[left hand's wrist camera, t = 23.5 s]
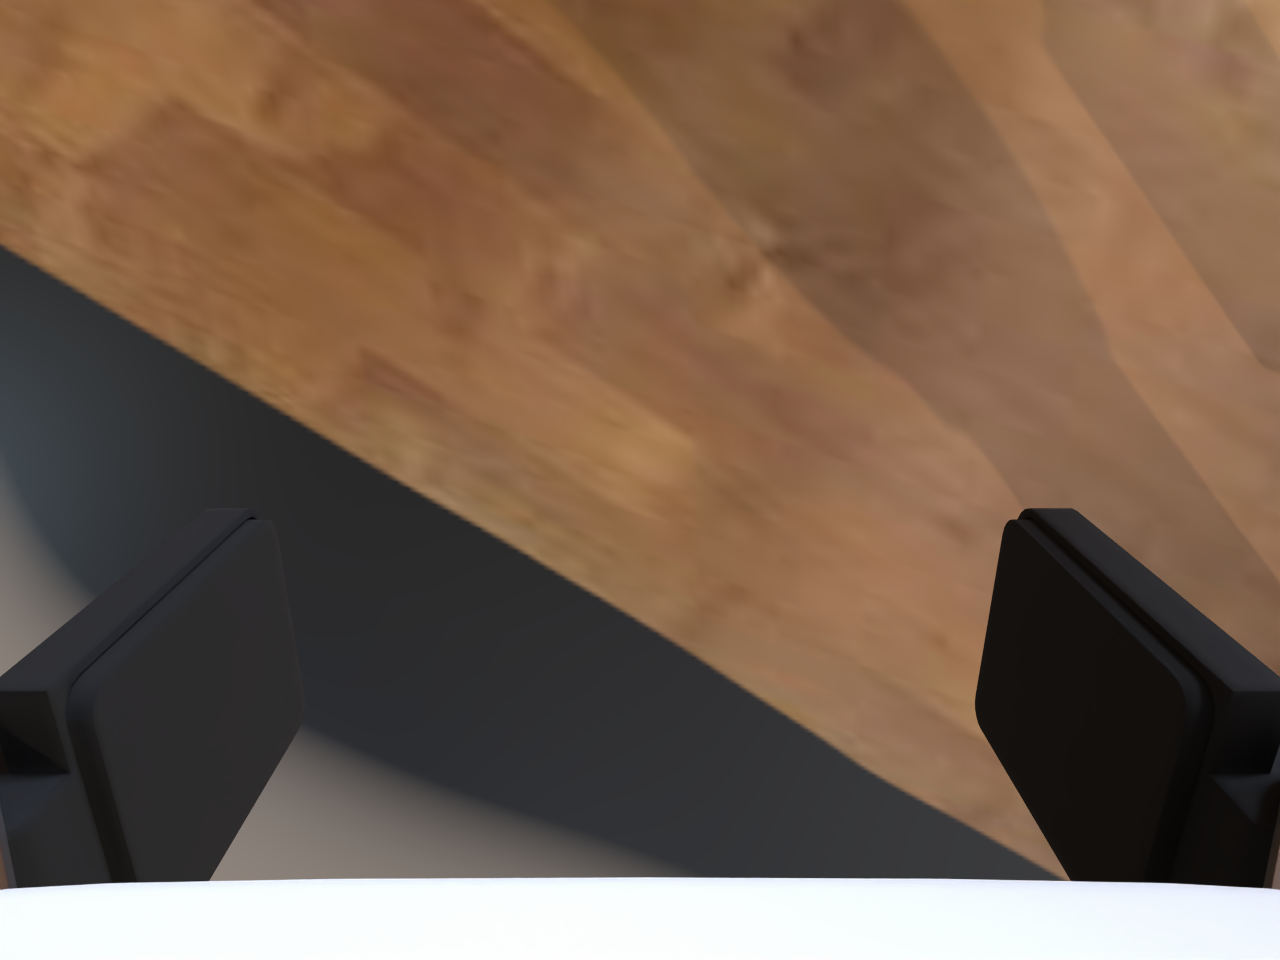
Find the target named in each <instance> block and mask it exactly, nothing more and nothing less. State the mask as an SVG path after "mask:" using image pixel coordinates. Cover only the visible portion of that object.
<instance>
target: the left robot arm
mask: <svg viewBox="0 0 1280 960" xmlns="http://www.w3.org/2000/svg"><path fill="white" fill-rule="evenodd" d="M304 710H305V698H304V691H303V685H302V679H301V673H300V667H299V661H298V655H297V649H296V643H295V637H294V631H293V625H292V619H291V613H290V607H289V601H288V595H287V589H286V583H285V577H284V571H283V565H282V559H281V553H280V548H279V541H278V535H277V531H276V528H275V525H274V523H273V522H272V521H271V520H263V519H262V517H261V516H260V514H259V512H257V511H256V510H255V509H250V508H217V509H216V508H209V509H206V510H204V511H203V512H201V513H200V514H199V515H198V516H196V517H195V518H194V519H193V520H191V521H190V522H189V523H188V524H187V525H185V526H184V527H183V528H182V529H180V530H179V531H178V532H177V533H176V534H174V535H173V536H172V537H171V538H169V539H168V540H167V541H166V542H165V543H163V544H162V545H161V546H160V547H159V548H157V549H156V550H155V551H154V552H152V553H151V554H150V555H149V556H148V557H146V558H145V559H144V560H143V561H141V562H140V563H139V564H138V565H137V566H135V567H134V568H133V569H132V570H130V571H129V572H128V573H127V574H125V575H124V576H123V577H122V578H121V579H119V580H118V581H117V582H116V583H114V584H113V585H112V586H111V587H110V588H108V589H107V590H106V591H105V592H103V593H102V594H101V595H100V596H99V597H97V598H96V599H95V600H94V601H92V602H91V603H90V604H89V605H88V606H86V607H85V608H84V609H83V610H81V611H80V612H79V613H78V614H77V615H75V616H74V617H73V618H72V619H70V620H69V621H68V622H67V623H66V624H64V625H63V626H62V627H61V628H59V629H58V630H57V631H56V632H55V633H53V634H52V635H51V636H50V637H48V638H47V639H46V640H45V641H44V642H42V643H41V644H40V645H39V646H37V647H36V648H35V649H34V650H33V651H31V652H30V653H29V654H28V655H26V656H25V657H24V658H23V659H22V660H20V661H19V662H18V663H17V664H15V665H14V666H13V667H12V668H11V669H9V670H8V671H7V672H6V673H4V674H3V675H2V676H1V677H0V960H1280V677H1279V676H1278V675H1277V674H1276V673H1274V672H1273V671H1272V670H1271V669H1269V668H1268V667H1267V666H1266V665H1265V664H1263V663H1262V662H1261V661H1260V660H1258V659H1257V658H1256V657H1255V656H1254V655H1252V654H1251V653H1250V652H1249V651H1247V650H1246V649H1245V648H1244V647H1243V646H1241V645H1240V644H1239V643H1238V642H1236V641H1235V640H1234V639H1233V638H1232V637H1230V636H1229V635H1228V634H1227V633H1225V632H1224V631H1223V630H1222V629H1221V628H1219V627H1218V626H1217V625H1216V624H1214V623H1213V622H1212V621H1211V620H1210V619H1208V618H1207V617H1206V616H1205V615H1203V614H1202V613H1201V612H1200V611H1199V610H1197V609H1196V608H1195V607H1194V606H1192V605H1191V604H1190V603H1189V602H1188V601H1186V600H1185V599H1184V598H1183V597H1181V596H1180V595H1179V594H1178V593H1177V592H1175V591H1174V590H1173V589H1172V588H1170V587H1169V586H1168V585H1167V584H1166V583H1164V582H1163V581H1162V580H1161V579H1159V578H1158V577H1157V576H1156V575H1155V574H1153V573H1152V572H1151V571H1150V570H1148V569H1147V568H1146V567H1145V566H1144V565H1142V564H1141V563H1140V562H1139V561H1137V560H1136V559H1135V558H1134V557H1133V556H1131V555H1130V554H1129V553H1128V552H1126V551H1125V550H1124V549H1123V548H1122V547H1120V546H1119V545H1118V544H1117V543H1115V542H1114V541H1113V540H1112V539H1111V538H1109V537H1108V536H1107V535H1106V534H1104V533H1103V532H1102V531H1101V530H1100V529H1098V528H1097V527H1096V526H1095V525H1093V524H1092V523H1091V522H1090V521H1089V520H1087V519H1086V518H1085V517H1084V516H1082V515H1081V514H1080V513H1079V512H1078V511H1076V510H1074V509H1072V508H1030V509H1025V510H1024V511H1022V512H1021V514H1020V515H1019V517H1018V519H1017V520H1009V521H1008V522H1007V523H1006V525H1005V527H1004V531H1003V535H1002V541H1001V547H1000V553H999V559H998V565H997V571H996V577H995V583H994V589H993V595H992V601H991V607H990V613H989V619H988V625H987V631H986V637H985V643H984V649H983V655H982V661H981V667H980V673H979V679H978V685H977V691H976V698H975V710H976V717H977V720H978V724H979V726H980V728H981V730H982V732H983V733H984V735H985V737H986V738H987V740H988V742H989V743H990V745H991V747H992V748H993V750H994V752H995V754H996V755H997V757H998V759H999V760H1000V762H1001V764H1002V765H1003V767H1004V769H1005V770H1006V772H1007V774H1008V775H1009V777H1010V779H1011V781H1012V782H1013V784H1014V786H1015V787H1016V789H1017V791H1018V792H1019V794H1020V796H1021V797H1022V799H1023V801H1024V802H1025V804H1026V806H1027V807H1028V809H1029V811H1030V813H1031V814H1032V816H1033V818H1034V819H1035V821H1036V823H1037V824H1038V826H1039V828H1040V829H1041V831H1042V833H1043V834H1044V836H1045V838H1046V840H1047V841H1048V843H1049V845H1050V846H1051V848H1052V850H1053V851H1054V853H1055V855H1056V856H1057V858H1058V860H1059V861H1060V863H1061V865H1062V867H1063V868H1064V870H1065V872H1066V873H1067V875H1068V877H1069V878H1070V880H1071V881H1023V880H968V879H839V878H838V879H837V878H836V879H835V878H444V879H443V878H441V879H311V880H256V881H209V880H210V878H211V877H212V875H213V873H214V872H215V870H216V868H217V867H218V865H219V863H220V861H221V860H222V858H223V856H224V855H225V853H226V851H227V850H228V848H229V846H230V845H231V843H232V841H233V840H234V838H235V836H236V834H237V833H238V831H239V829H240V828H241V826H242V824H243V823H244V821H245V819H246V818H247V816H248V814H249V813H250V811H251V809H252V807H253V806H254V804H255V802H256V801H257V799H258V797H259V796H260V794H261V792H262V791H263V789H264V787H265V786H266V784H267V782H268V781H269V779H270V777H271V775H272V774H273V772H274V770H275V769H276V767H277V765H278V764H279V762H280V760H281V758H282V757H283V755H284V753H285V752H286V750H287V748H288V747H289V745H290V743H291V742H292V740H293V738H294V736H295V735H296V733H297V732H298V730H299V728H300V726H301V723H302V720H303V717H304Z"/></svg>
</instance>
